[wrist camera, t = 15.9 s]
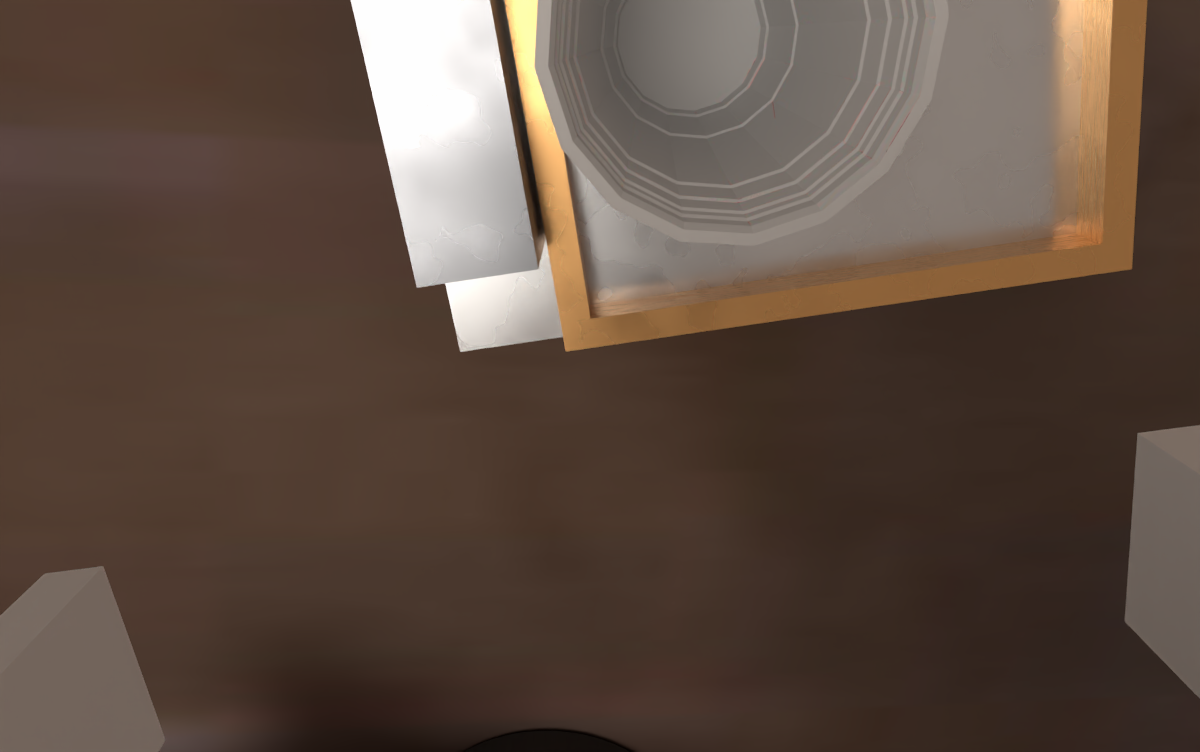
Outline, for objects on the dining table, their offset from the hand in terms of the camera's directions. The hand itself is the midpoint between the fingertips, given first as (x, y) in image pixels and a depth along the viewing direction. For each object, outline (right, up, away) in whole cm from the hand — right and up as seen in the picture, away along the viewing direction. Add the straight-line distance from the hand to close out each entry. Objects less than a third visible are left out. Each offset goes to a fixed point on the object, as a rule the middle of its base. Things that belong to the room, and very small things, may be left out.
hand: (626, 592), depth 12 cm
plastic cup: (+3, +16, +23) cm, 28 cm away
